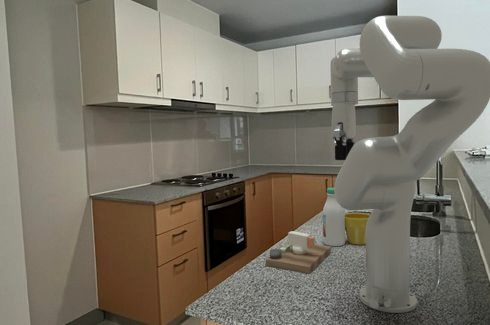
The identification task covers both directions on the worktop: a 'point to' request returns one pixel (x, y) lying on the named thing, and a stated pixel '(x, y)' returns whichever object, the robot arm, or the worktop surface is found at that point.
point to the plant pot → (356, 227)
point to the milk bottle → (333, 221)
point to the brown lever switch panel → (297, 258)
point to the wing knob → (300, 242)
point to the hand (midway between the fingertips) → (345, 158)
